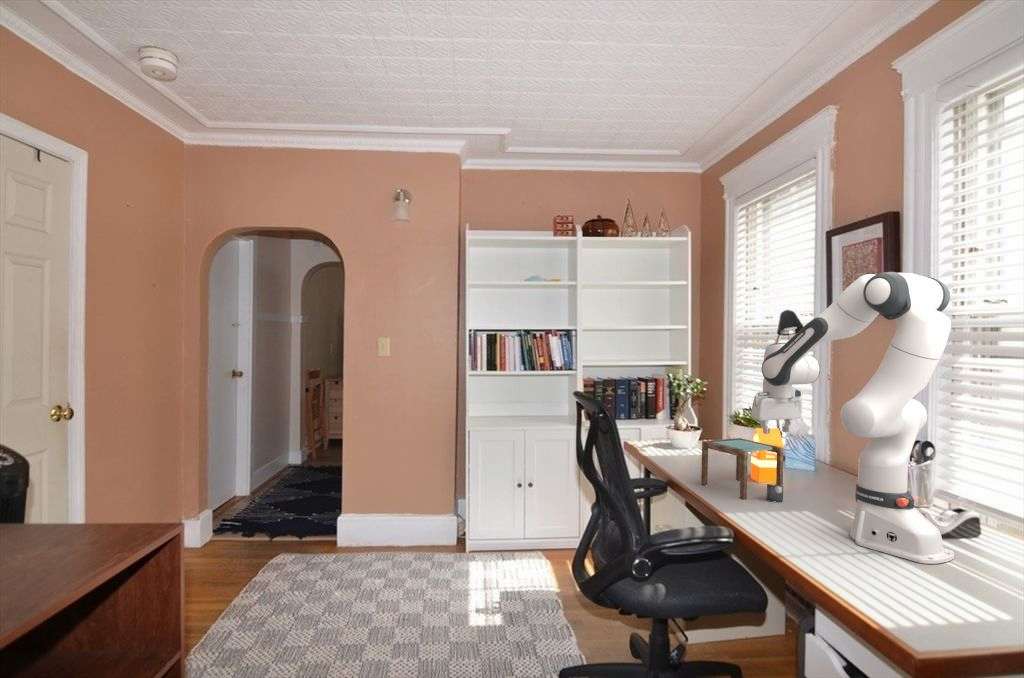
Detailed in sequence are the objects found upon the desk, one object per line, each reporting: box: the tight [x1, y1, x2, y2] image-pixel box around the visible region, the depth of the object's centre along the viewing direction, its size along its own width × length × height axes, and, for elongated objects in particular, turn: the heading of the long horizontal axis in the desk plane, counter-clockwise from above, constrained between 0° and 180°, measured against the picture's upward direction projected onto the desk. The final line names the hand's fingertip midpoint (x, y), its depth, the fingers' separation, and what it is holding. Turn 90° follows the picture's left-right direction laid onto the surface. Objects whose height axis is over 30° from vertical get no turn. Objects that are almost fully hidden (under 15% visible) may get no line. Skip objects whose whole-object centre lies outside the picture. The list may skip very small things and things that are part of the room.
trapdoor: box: [712, 440, 772, 453], centre depth 195 cm, size 14×14×1 cm
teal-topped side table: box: [700, 437, 785, 500], centre depth 195 cm, size 19×19×16 cm
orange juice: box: [750, 427, 784, 484], centre depth 207 cm, size 8×9×20 cm
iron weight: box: [766, 483, 784, 503], centre depth 182 cm, size 5×5×5 cm
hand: (776, 432), depth 182 cm, fingers open, 8 cm apart
